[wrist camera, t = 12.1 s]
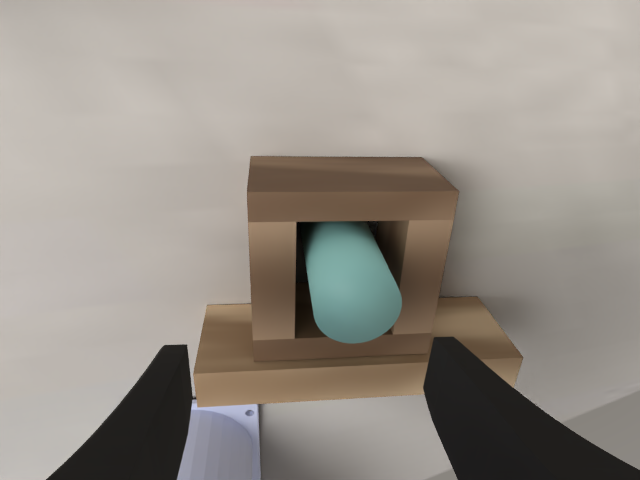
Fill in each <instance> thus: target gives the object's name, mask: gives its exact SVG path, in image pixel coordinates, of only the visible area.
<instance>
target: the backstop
mask: <svg viewBox="0 0 640 480" xmlns="http://www.w3.org/2000/svg"><path fill="white" fill-rule="evenodd" d="M452 336H453V337H455V338H456V339H457V340H458V341H459V342H461V343H462V344H463V345H464V346H465V347H466V348H468V349H469V350H470V351H471V352H472V353H473V354H474V355H476V356H477V357H478V358H479V359H480V360H481V361H482V362H484V363H485V364H486V365H487V366H488V367H489V368H490V369H492V370H493V371H494V372H495V373H496V374H497V375H499V376H500V377H501V378H502V379H503V380H505V381H506V382H507V383H508V384H509V385H511V386H512V387H513V388H514V385H515V381H516V378H517V375H518V372H519V369H520V366H521V363H522V360H523V356H522V355H521V354H520V352H519V351H518V350H517V349H516V347H515V346H514V345H513V343H512V342H511V341H510V339H509V338H508V337H507V335H506V334H505V333H504V331H503V330H502V329H501V327H500V326H499V325H498V323H497V322H496V321H495V319H494V318H493V317H492V315H491V314H490V313H489V311H488V310H487V309H486V307H485V306H484V305H483V303H482V302H481V301H480V299H479V298H478V297H449V298H438V303H437V308H436V313H435V319H434V324H433V329H432V334H431V339H430V344H429V349H428V353H425V354H404V355H383V356H362V357H341V358H320V359H299V360H278V361H257V362H254V357H253V332H252V307H251V304H231V305H207V308H206V313H205V318H204V323H203V328H202V333H201V338H200V343H199V348H198V353H197V358H196V363H195V368H194V373H193V376H194V384H195V392H196V400H197V408H198V407H215V406H232V405H249V404H266V403H283V402H300V401H318V400H335V399H352V398H369V397H386V396H403V395H420V394H424V390H423V385H424V380H425V376H426V371H427V367H428V362H429V357H430V353H431V348H432V343H433V339H434V337H452Z"/></svg>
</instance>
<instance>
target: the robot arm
mask: <svg viewBox="0 0 640 480" xmlns="http://www.w3.org/2000/svg"><path fill="white" fill-rule="evenodd" d="M423 390H424V394H425V397H426V401H427V404H428V408H429V411H430V414H431V418H432V421H433V423H434V425H435V428H436V430H437V433H438V435H439V437H440V440H441V442H442V444H443V447H444V449H445V451H446V453H447V456H448V458H449V460H450V463H451V465H452V467H453V469H454V472H455V474H456V476H457V479H458V480H640V470H638V469H637V468H635V467H633V466H631V465H629V464H627V463H625V462H623V461H622V460H620V459H618V458H616V457H615V456H613V455H611V454H609V453H608V452H606V451H604V450H603V449H601V448H599V447H597V446H596V445H594V444H592V443H591V442H589V441H587V440H586V439H584V438H583V437H581V436H579V435H578V434H576V433H575V432H573V431H572V430H570V429H569V428H567V427H566V426H564V425H563V424H561V423H560V422H558V421H557V420H555V419H554V418H553V417H551V416H550V415H548V414H547V413H545V412H544V411H543V410H541V409H540V408H539V407H537V406H536V405H535V404H533V403H532V402H531V401H530V400H528V399H527V398H526V397H524V396H523V395H522V394H520V393H519V392H518V391H517V390H515V389H514V388H513V387H512V386H511V385H509V384H508V383H507V382H506V381H505V380H503V379H502V378H501V377H500V376H499V375H497V374H496V373H495V372H494V371H493V370H492V369H490V368H489V367H488V366H487V365H486V364H485V363H484V362H482V361H481V360H480V359H479V358H478V357H477V356H476V355H474V354H473V353H472V352H471V351H470V350H469V349H468V348H466V347H465V346H464V345H463V344H462V343H461V342H459V341H458V340H457V339H456V338H455V337H453V336H452V337H434V339H433V343H432V348H431V353H430V357H429V362H428V367H427V371H426V376H425V380H424V385H423ZM192 399H193V397H192V387H191V378H190V368H189V358H188V349H187V345H164V346H163V347H162V348H161V349H160V351H159V352H158V354H157V355H156V356H155V358H154V359H153V361H152V362H151V364H150V365H149V366H148V368H147V369H146V371H145V372H144V373H143V375H142V376H141V377H140V379H139V380H138V381H137V383H136V384H135V385H134V386H133V388H132V389H131V390H130V391H129V393H128V394H127V395H126V396H125V398H124V399H123V400H122V401H121V403H120V404H119V405H118V406H117V407H116V409H115V410H114V411H113V412H112V413H111V414H110V415H109V417H108V418H107V419H106V420H105V421H104V422H103V423H102V425H101V426H100V427H99V428H98V429H97V430H96V431H95V432H94V433H93V435H92V436H91V437H90V438H89V439H88V440H87V441H86V442H85V443H84V444H83V445H82V446H81V447H80V448H79V449H78V450H77V451H76V452H75V453H74V454H73V455H72V456H71V457H70V458H69V459H68V460H67V461H66V462H65V463H64V464H63V465H62V466H60V467H59V468H58V469H57V470H56V471H55V472H54V473H53V474H52V475H51V476H49V477H48V478H47V479H46V480H261V471H260V442H259V413H258V404H249V405H232V406H215V407H198V408H197V400H192ZM247 410H252V411H247Z"/></svg>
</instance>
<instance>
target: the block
mask: <svg viewBox="0 0 640 480" xmlns="http://www.w3.org/2000/svg"><path fill="white" fill-rule="evenodd" d="M458 195H459V191H458V190H457V189H456V188H455V187H454V186H453V185H452V184H451V183H449V182H448V181H447V180H446V179H445V178H444V177H443V176H442V175H441V174H440V173H438V172H437V171H436V170H435V169H434V168H433V167H432V166H431V165H430V164H429V163H428V162H426V161H425V160H424V159H423V158H422V157H274V156H251V158H250V168H249V177H248V187H247V206H248V231H249V256H250V281H251V307H252V332H253V357H254V362H257V361H278V360H299V359H320V358H341V357H362V356H383V355H404V354H425V353H428V349H429V344H430V339H431V334H432V329H433V324H434V319H435V313H436V308H437V303H438V298H439V293H440V288H441V282H442V277H443V272H444V267H445V262H446V257H447V252H448V246H449V241H450V236H451V231H452V226H453V221H454V215H455V210H456V205H457V200H458ZM320 221H378V224H377V234H376V243H377V245H378V247H379V249H380V251H381V253H382V255H383V257H384V259H385V261H386V263H387V266H388V268H389V270H390V272H391V274H392V276H393V278H394V280H395V282H396V284H397V286H398V288H399V291H400V293H401V297H402V307H401V312H400V314H399V317H398V319H397V320H396V322H395V323H394V325H393V326H392V327H391V328H390V329H389V330H388V331H387V332H385V333H384V334H382V335H381V336H379V337H377V338H375V339H373V340H370V341H367V342H362V343H343V342H339V341H336V340H333V339H331V338H329V337H328V336H326V335H325V334H324V333H323V332H322V331H321V330H320V329H319V328H318V326H317V324H316V322H315V319H314V315H313V308H312V302H311V295H310V289H309V282H299V283H295V280H296V222H320Z"/></svg>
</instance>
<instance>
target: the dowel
mask: <svg viewBox="0 0 640 480" xmlns="http://www.w3.org/2000/svg"><path fill="white" fill-rule="evenodd" d="M300 231H301V237H302V243H303V250H304V256H305V263H306V269H307V276H308V282H309V289H310V295H311V302H312V308H313V315H314V319H315V322H316V324H317V326H318V328H319V329H320V330H321V331H322V332H323V333H324V334H325V335H326V336H328V337H329V338H331V339H333V340H336V341H339V342H343V343H362V342H367V341H370V340H373V339H375V338H377V337H379V336H381V335H382V334H384V333H385V332H387V331H388V330H389V329H390V328H391V327H392V326H393V325H394V323H395V322H396V320H397V319H398V317H399V314H400V312H401V307H402V297H401V293H400V291H399V288H398V286H397V284H396V282H395V280H394V278H393V276H392V274H391V272H390V270H389V268H388V266H387V263H386V261H385V259H384V257H383V255H382V253H381V251H380V249H379V247H378V245H377V243H376V241H375V239H374V237H373V234H372V232H371V230H370V228H369V226H368V224H367V222H366V221H320V222H300Z"/></svg>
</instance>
